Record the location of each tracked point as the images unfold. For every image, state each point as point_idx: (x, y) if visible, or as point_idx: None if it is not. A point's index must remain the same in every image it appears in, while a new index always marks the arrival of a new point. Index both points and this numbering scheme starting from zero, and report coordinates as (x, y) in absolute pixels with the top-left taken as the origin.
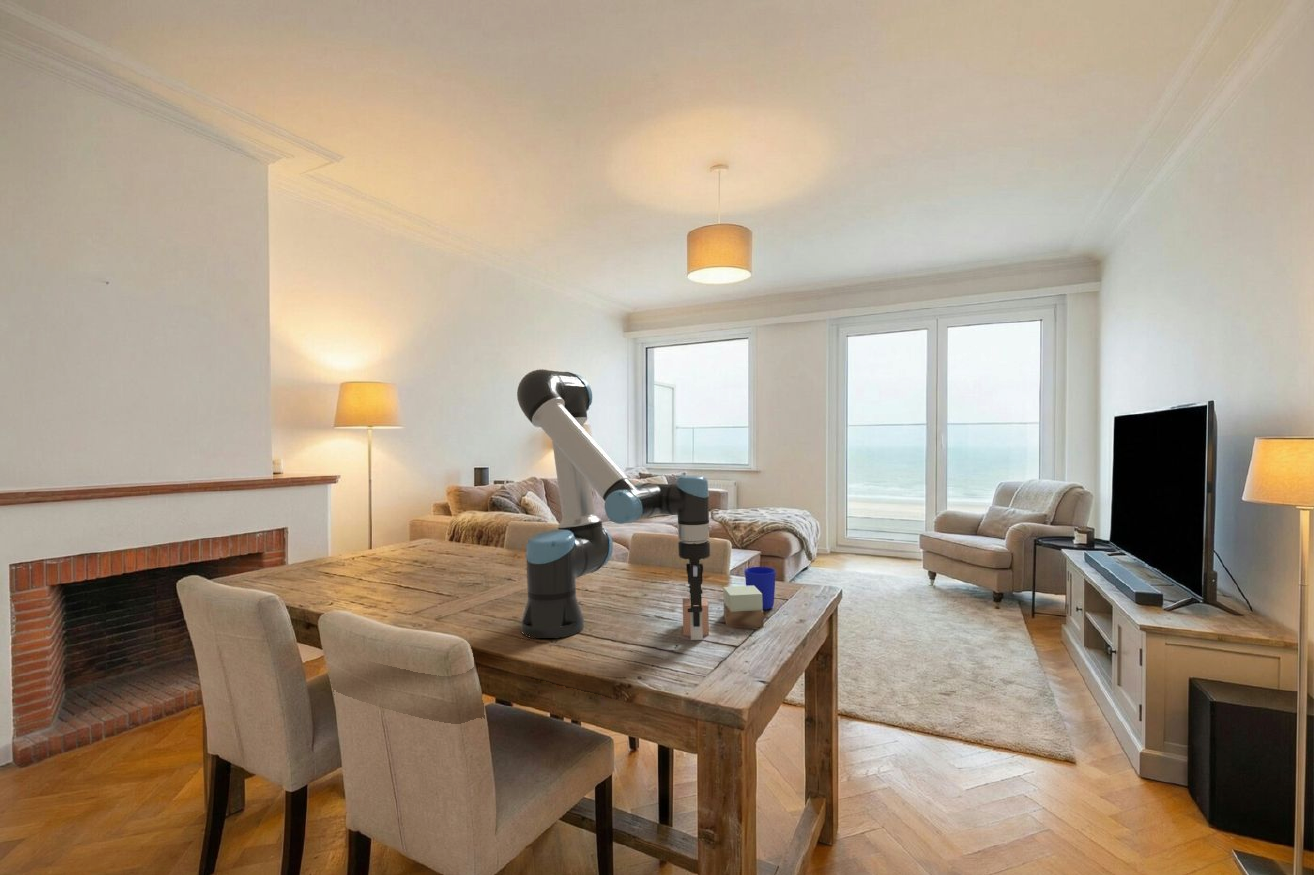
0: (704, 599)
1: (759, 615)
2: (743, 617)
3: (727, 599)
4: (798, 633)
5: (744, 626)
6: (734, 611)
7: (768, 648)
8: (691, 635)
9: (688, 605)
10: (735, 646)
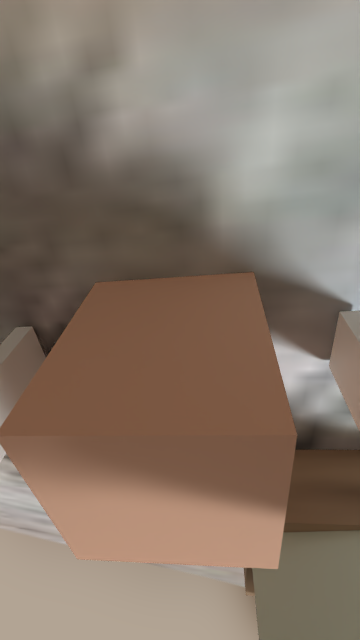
0: (242, 556)
1: (244, 570)
2: None
3: (336, 591)
4: (182, 568)
5: None
6: None
7: (45, 515)
8: (3, 345)
9: (25, 474)
10: None
